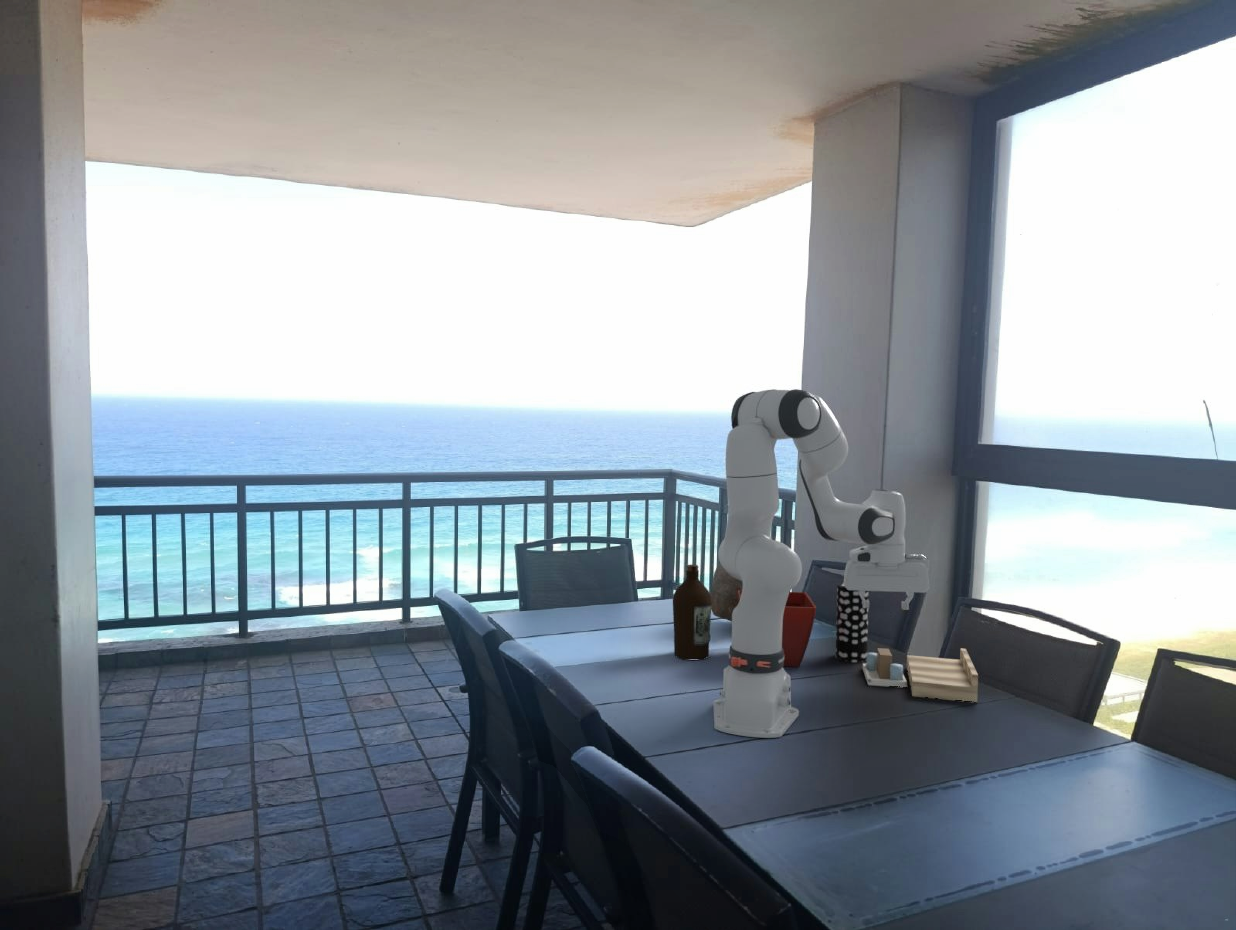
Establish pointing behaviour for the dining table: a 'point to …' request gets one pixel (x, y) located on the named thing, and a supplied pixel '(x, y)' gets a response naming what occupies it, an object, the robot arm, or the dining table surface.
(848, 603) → the white-spotted black cylinder
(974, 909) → the dining table surface
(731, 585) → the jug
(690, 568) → the olive oil
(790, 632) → the plant pot
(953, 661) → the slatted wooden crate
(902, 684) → the caddy tray
